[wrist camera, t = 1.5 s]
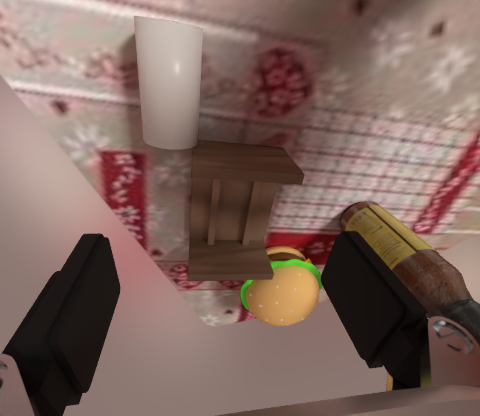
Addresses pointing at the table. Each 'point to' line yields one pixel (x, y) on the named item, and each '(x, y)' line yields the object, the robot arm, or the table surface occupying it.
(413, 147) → the table surface
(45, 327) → the robot arm
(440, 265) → the sauce bottle
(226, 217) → the holder
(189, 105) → the roll
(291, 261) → the hamburger
